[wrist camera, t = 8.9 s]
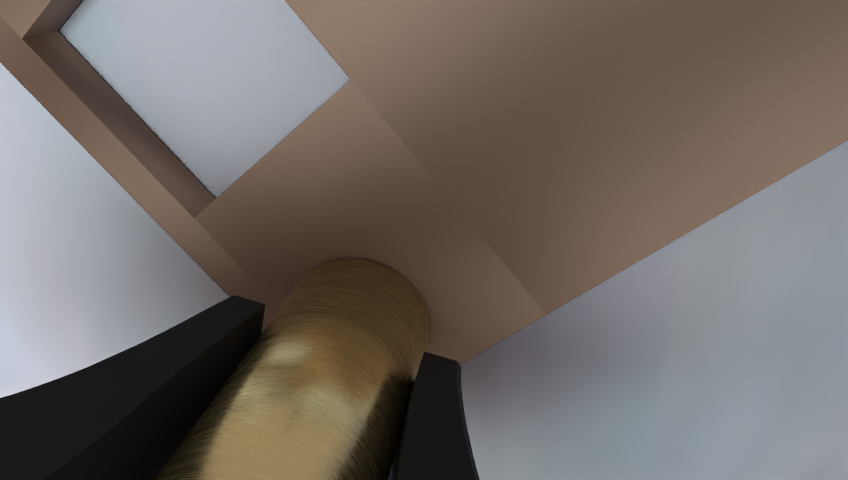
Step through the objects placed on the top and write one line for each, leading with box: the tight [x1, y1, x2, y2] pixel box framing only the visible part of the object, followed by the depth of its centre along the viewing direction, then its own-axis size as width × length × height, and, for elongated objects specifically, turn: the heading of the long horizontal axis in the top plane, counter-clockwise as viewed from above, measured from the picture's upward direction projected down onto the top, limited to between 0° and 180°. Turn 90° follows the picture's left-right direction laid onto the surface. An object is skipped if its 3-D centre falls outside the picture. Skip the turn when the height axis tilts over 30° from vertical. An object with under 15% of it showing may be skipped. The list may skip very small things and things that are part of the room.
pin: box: [155, 258, 431, 480], centre depth 11 cm, size 3×3×6 cm
